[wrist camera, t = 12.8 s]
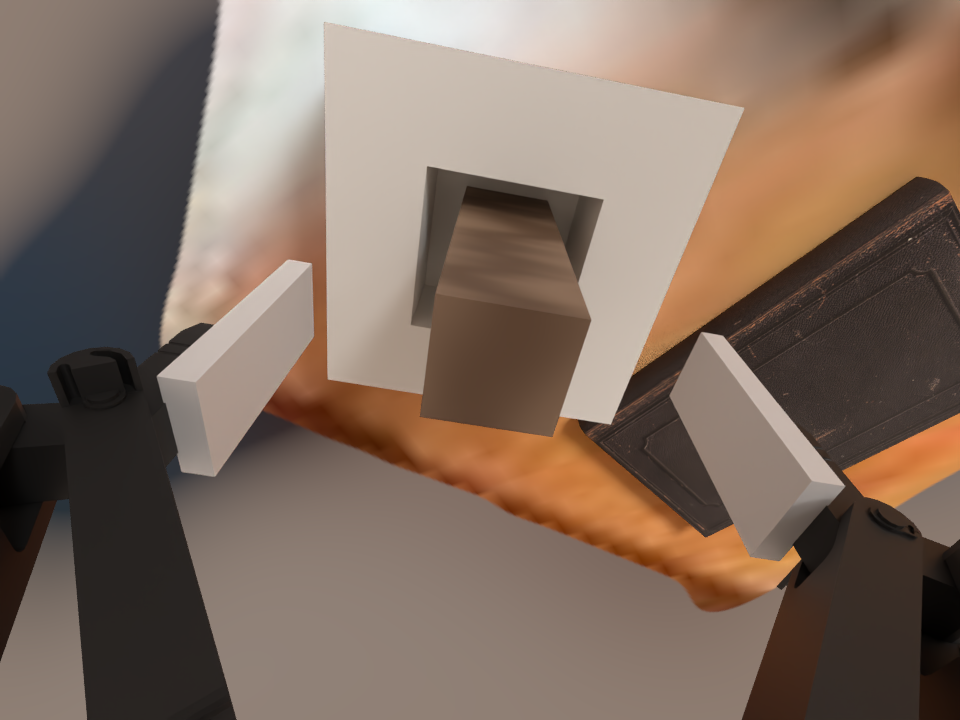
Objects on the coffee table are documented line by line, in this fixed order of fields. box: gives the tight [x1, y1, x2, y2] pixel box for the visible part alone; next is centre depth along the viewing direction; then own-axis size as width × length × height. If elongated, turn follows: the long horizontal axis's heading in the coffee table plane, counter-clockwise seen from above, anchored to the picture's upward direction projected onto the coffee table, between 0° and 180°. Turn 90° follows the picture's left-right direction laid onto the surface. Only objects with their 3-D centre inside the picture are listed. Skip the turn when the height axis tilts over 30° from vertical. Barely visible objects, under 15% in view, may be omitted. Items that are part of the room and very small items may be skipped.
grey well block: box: [324, 22, 744, 424], centre depth 24 cm, size 16×16×6 cm
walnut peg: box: [420, 186, 591, 437], centre depth 20 cm, size 4×4×14 cm
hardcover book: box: [578, 177, 960, 537], centre depth 31 cm, size 16×23×2 cm
